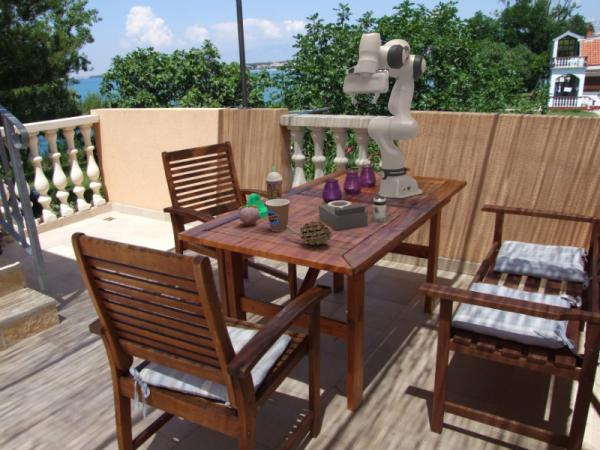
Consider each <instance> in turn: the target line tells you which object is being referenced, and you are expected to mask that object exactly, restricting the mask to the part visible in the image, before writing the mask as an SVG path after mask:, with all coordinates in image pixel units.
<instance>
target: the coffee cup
mask: <svg viewBox="0 0 600 450" xmlns="http://www.w3.org/2000/svg"><path fill="white" fill-rule="evenodd" d="M290 202H291V201H290V200H289V199H285V198H282V199H273V200H269V201H268V200H266V201H265V204H264V205H265V207H267V212H268V216H267V217H268V221H269V222H268V223H269V226H270V229H271V231H272V232H277V231H278V232H284V230H285V231H287V230H288V229H287V227H286V226H287V225H288V226H289V213H290V211H289V210H290Z"/></svg>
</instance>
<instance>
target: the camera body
mask: <svg viewBox="0 0 600 450" xmlns="http://www.w3.org/2000/svg"><path fill="white" fill-rule="evenodd" d="M318 218H319V220H320V221H323V223H326V224H327V225H328V226H330V227H331V228H333V229H334V230H336V231H343V230H349V229H356V228H360V227H367V226H368V223H369V222H368V218H369V215H368V211H367V210H366V207H365V205H363V204H361V203H360V204H358V203H357V204H353V203H352V202H351V201H347V200H333V201H330V202H328V203H326V204H320V205H318Z"/></svg>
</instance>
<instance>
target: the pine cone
mask: <svg viewBox="0 0 600 450" xmlns="http://www.w3.org/2000/svg"><path fill="white" fill-rule="evenodd" d="M329 226H330V225H328V226H327V225H326V224H325V222H322V220H320V219H316V220H312V221H310V222H305V223H304V224H303V226H301V227H300V230H299V231H297V230H296V229H293V228H292V227H291V226H290V225H289V224H288V225H287V226H286V227H287V229H286V230H288V231H290V232H291V233H292V234H294V235H296V236H300V239H301V240H302V241H303V243H304V244H306V245H307V244H308V245H313V246H315V244H316V245H317V246H319V245H321V244H324V245H325V244H327V243H328V241H330V240H331V239H332V238H333V231H332V230H331V229H330V227H329Z"/></svg>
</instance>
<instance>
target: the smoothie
mask: <svg viewBox="0 0 600 450" xmlns="http://www.w3.org/2000/svg"><path fill="white" fill-rule="evenodd" d="M265 183H266V185H265V186H266V193H267V198H268V199H267V201H269V200H273V199H283V177H282V175H281V174H280V173H279V172H278V171H275V167H274V166H273V165H272V171H271V172H269V173H268V174H267V175H266V178H265Z"/></svg>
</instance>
